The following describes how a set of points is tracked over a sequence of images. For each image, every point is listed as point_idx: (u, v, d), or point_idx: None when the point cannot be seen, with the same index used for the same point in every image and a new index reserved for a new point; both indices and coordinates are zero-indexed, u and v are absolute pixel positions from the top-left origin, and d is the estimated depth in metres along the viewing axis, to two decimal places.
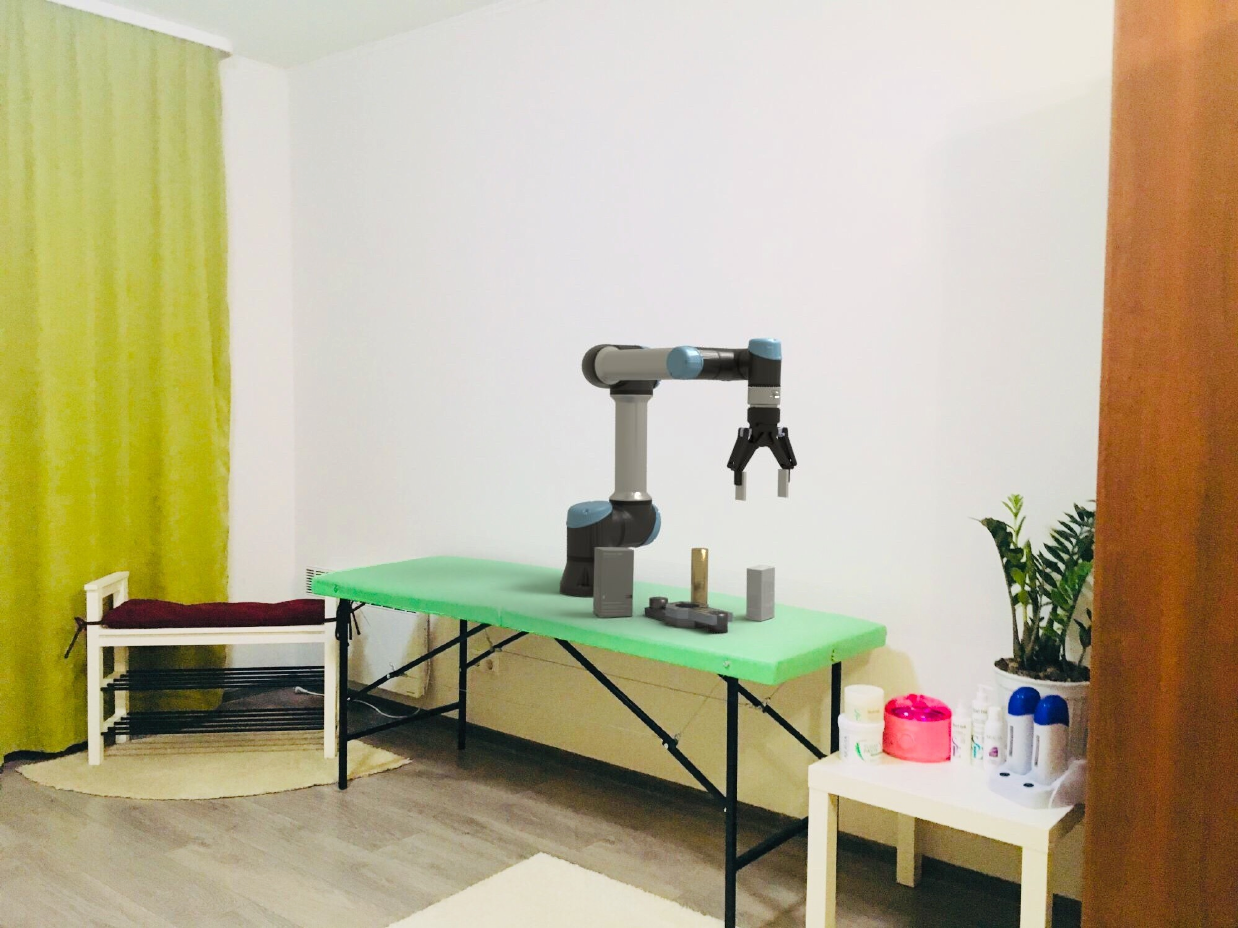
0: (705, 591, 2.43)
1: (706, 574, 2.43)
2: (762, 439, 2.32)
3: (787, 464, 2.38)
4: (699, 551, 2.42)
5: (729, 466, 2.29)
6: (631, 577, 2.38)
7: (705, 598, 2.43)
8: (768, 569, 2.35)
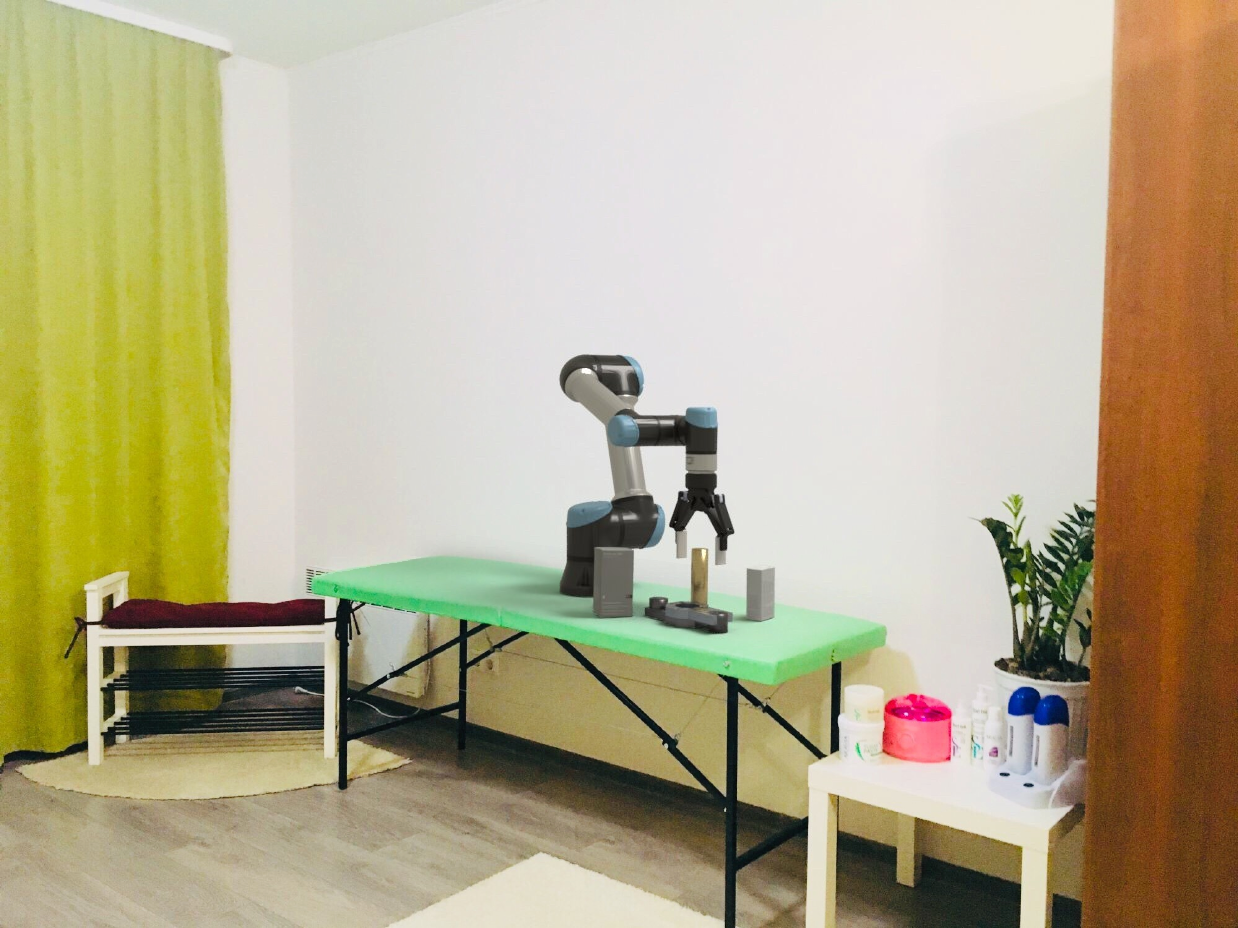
0: (705, 591, 2.43)
1: (706, 574, 2.43)
2: (689, 503, 2.43)
3: (717, 531, 2.37)
4: (699, 551, 2.42)
5: None
6: (631, 577, 2.37)
7: (705, 598, 2.43)
8: (768, 569, 2.35)
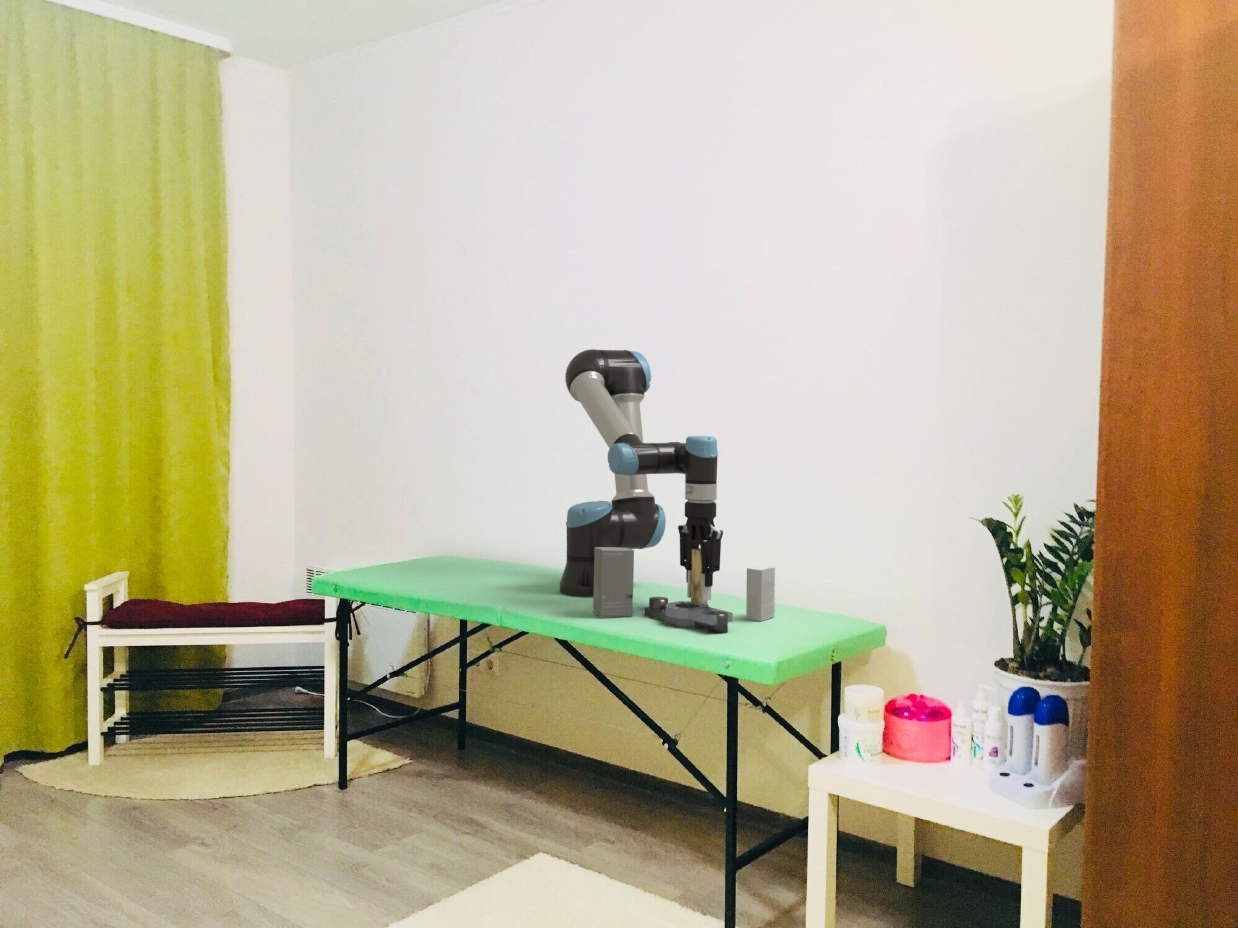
0: None
1: None
2: (690, 533, 2.43)
3: (703, 567, 2.41)
4: (699, 551, 2.42)
5: None
6: (631, 577, 2.37)
7: None
8: (768, 569, 2.35)
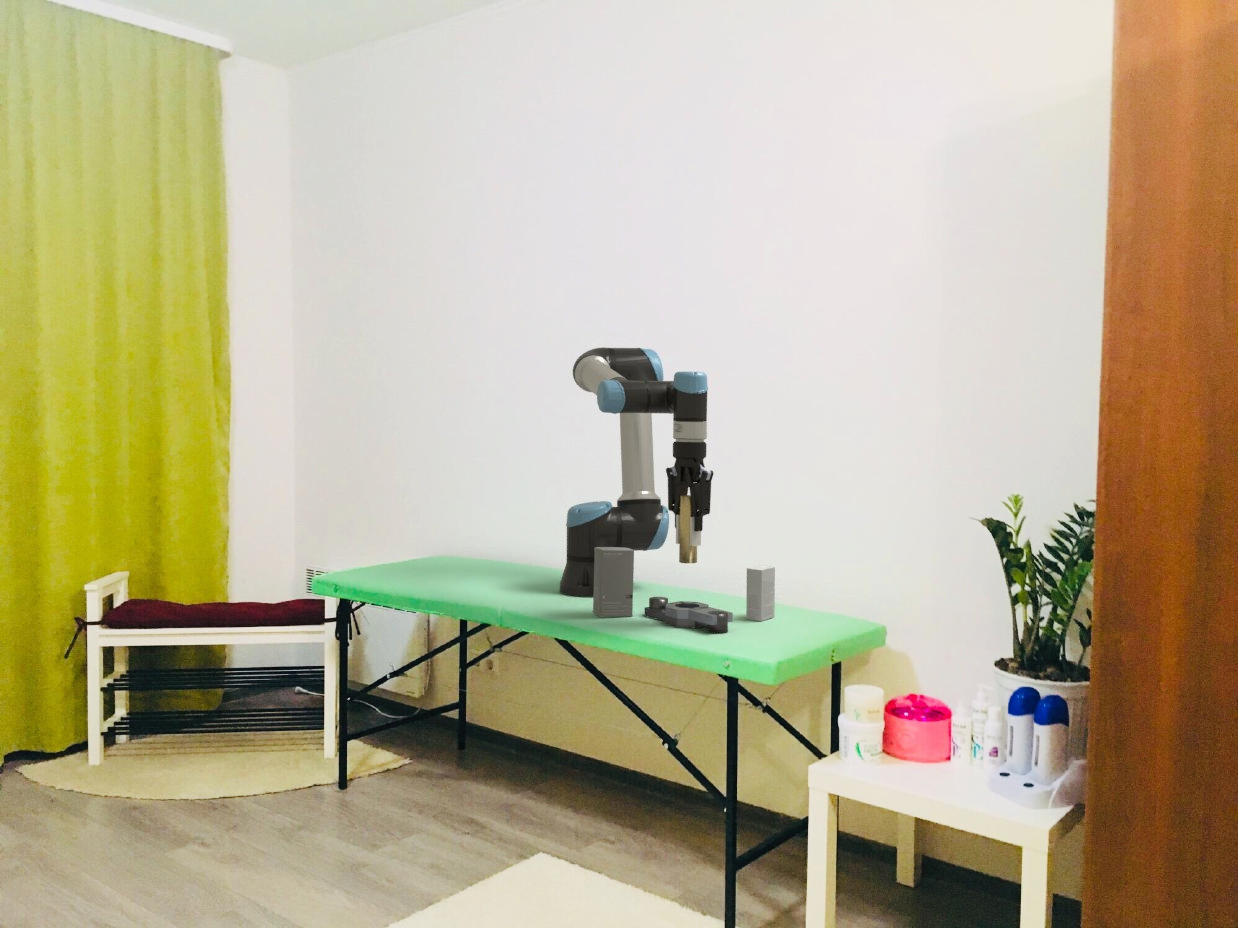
0: None
1: None
2: (679, 474, 2.29)
3: (693, 510, 2.27)
4: (688, 497, 2.28)
5: None
6: (631, 577, 2.38)
7: (694, 548, 2.29)
8: (768, 569, 2.35)
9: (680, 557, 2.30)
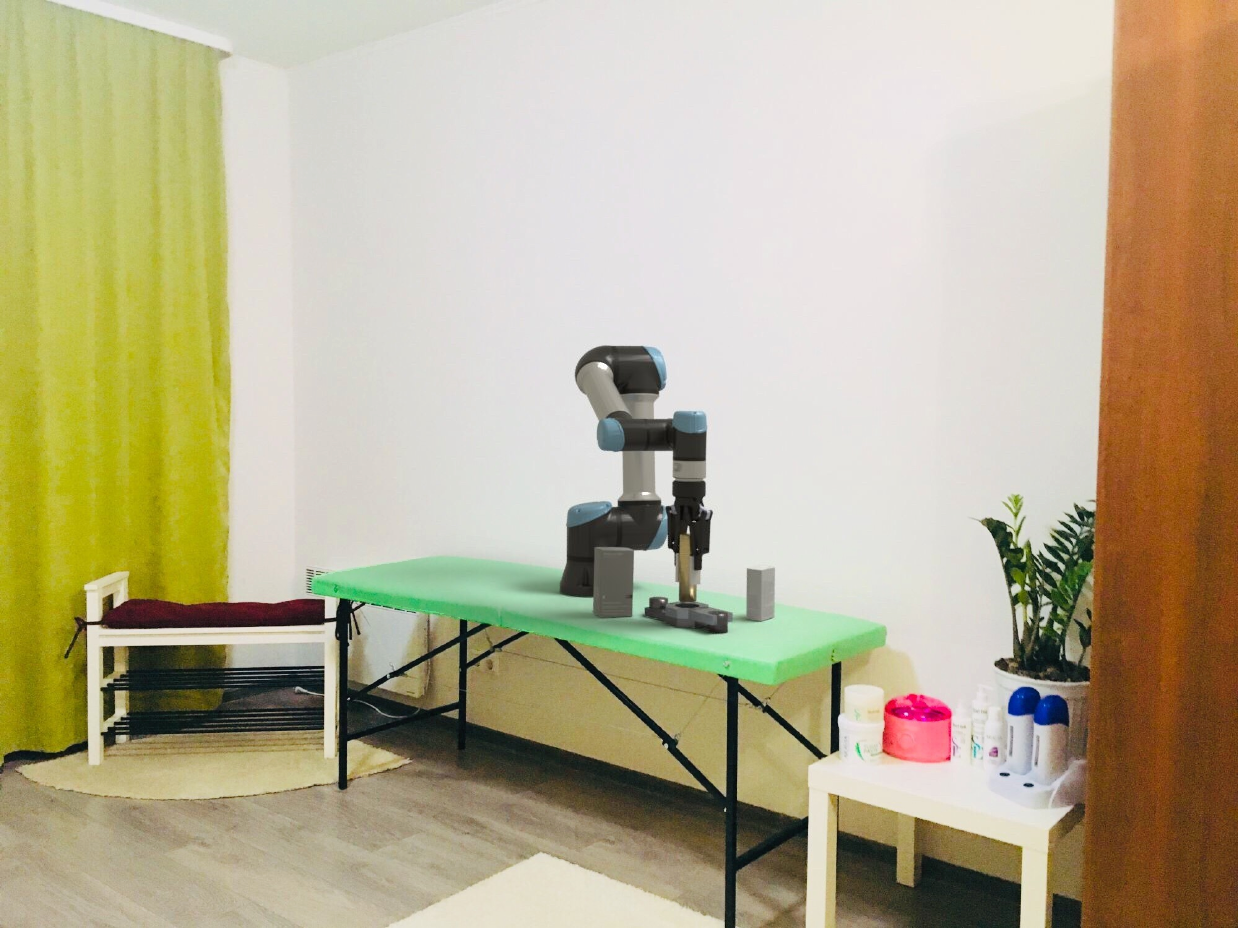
0: None
1: None
2: (678, 513, 2.30)
3: (692, 549, 2.27)
4: (687, 536, 2.28)
5: None
6: (631, 577, 2.37)
7: (694, 586, 2.30)
8: (768, 569, 2.35)
9: (680, 596, 2.30)
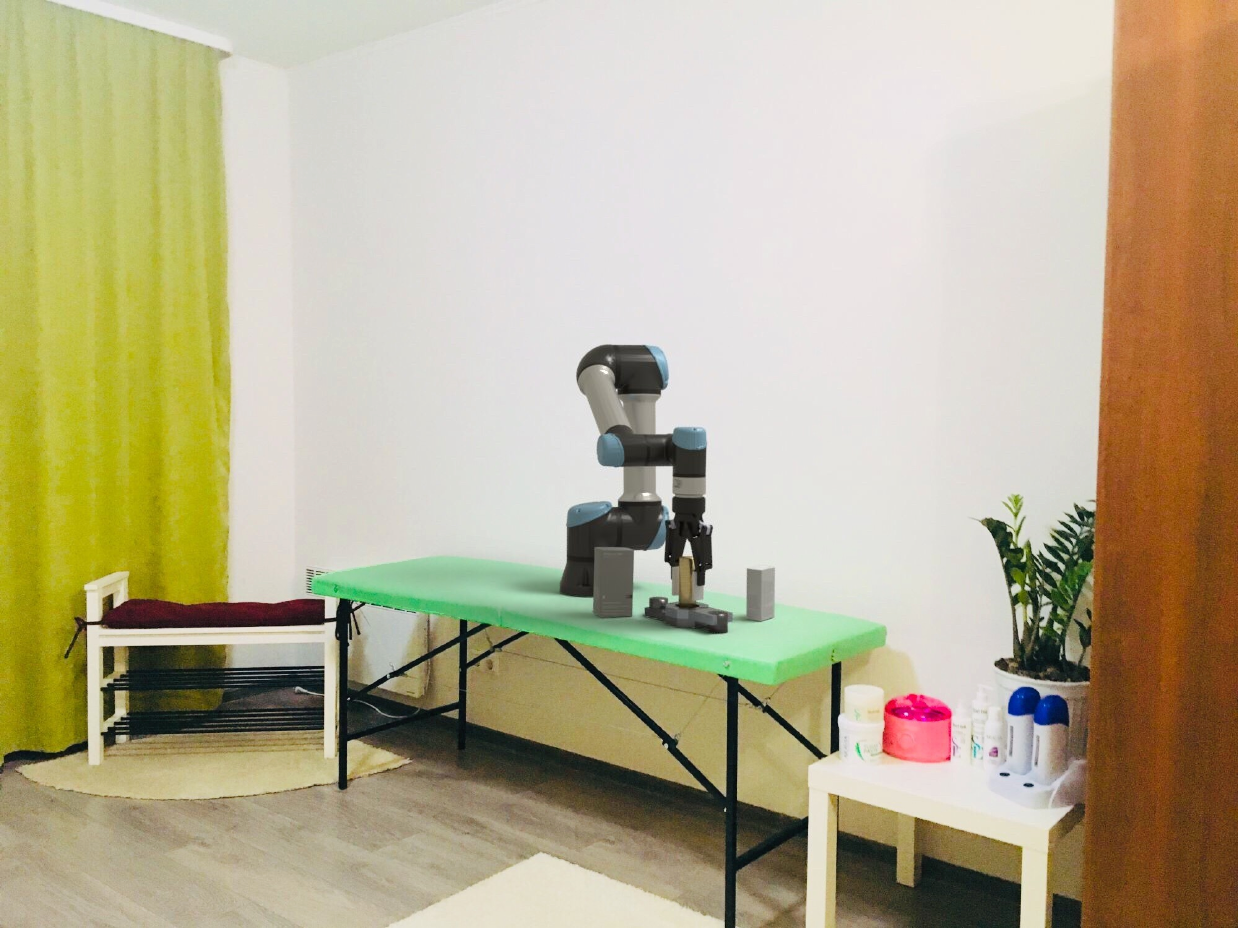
0: (693, 602, 2.30)
1: None
2: (678, 529, 2.30)
3: (695, 564, 2.27)
4: (687, 560, 2.29)
5: None
6: (631, 577, 2.38)
7: None
8: (768, 569, 2.35)
9: None
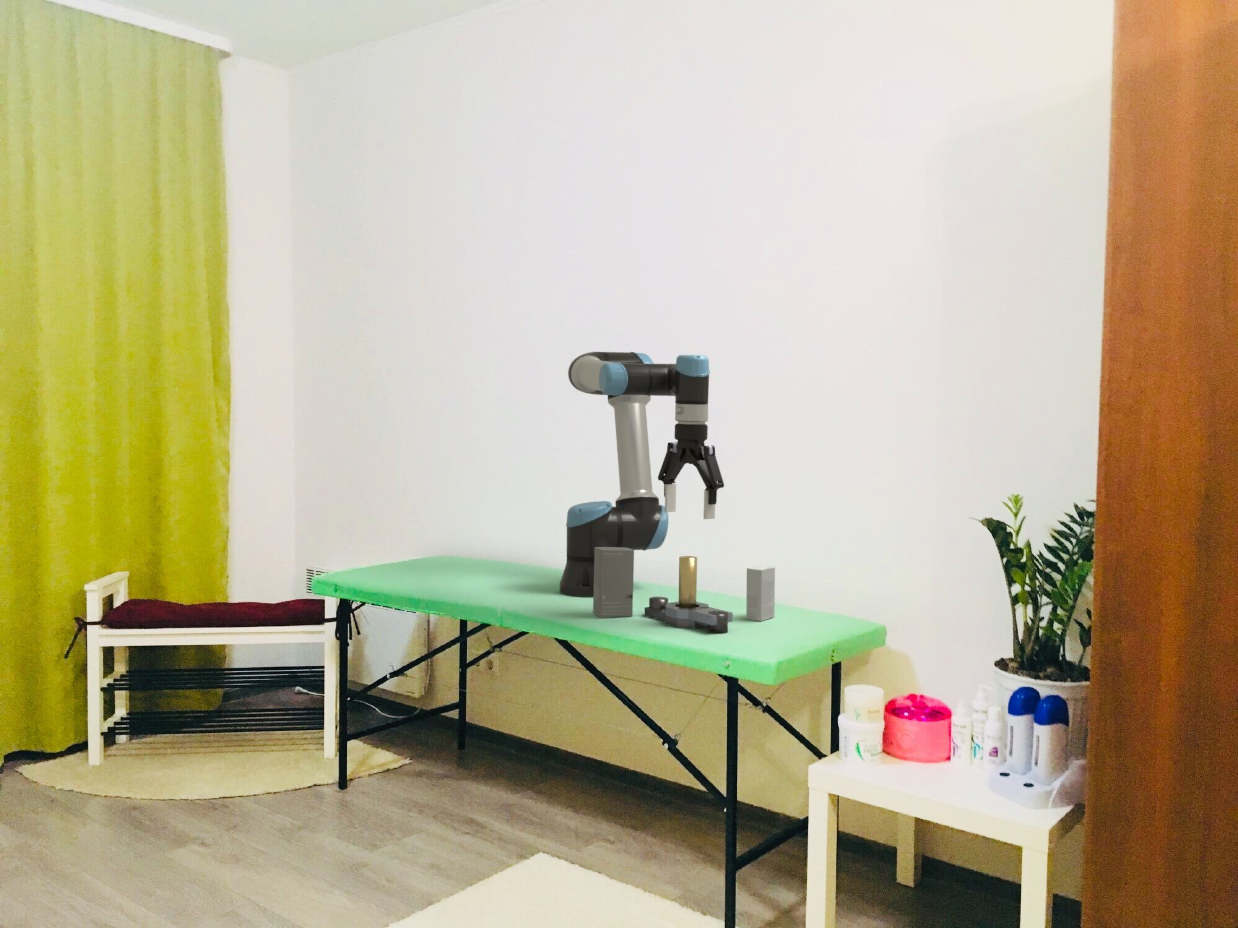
0: (693, 602, 2.30)
1: (695, 584, 2.30)
2: (679, 455, 2.35)
3: (706, 484, 2.28)
4: (687, 560, 2.29)
5: None
6: (631, 577, 2.37)
7: None
8: (768, 569, 2.35)
9: None
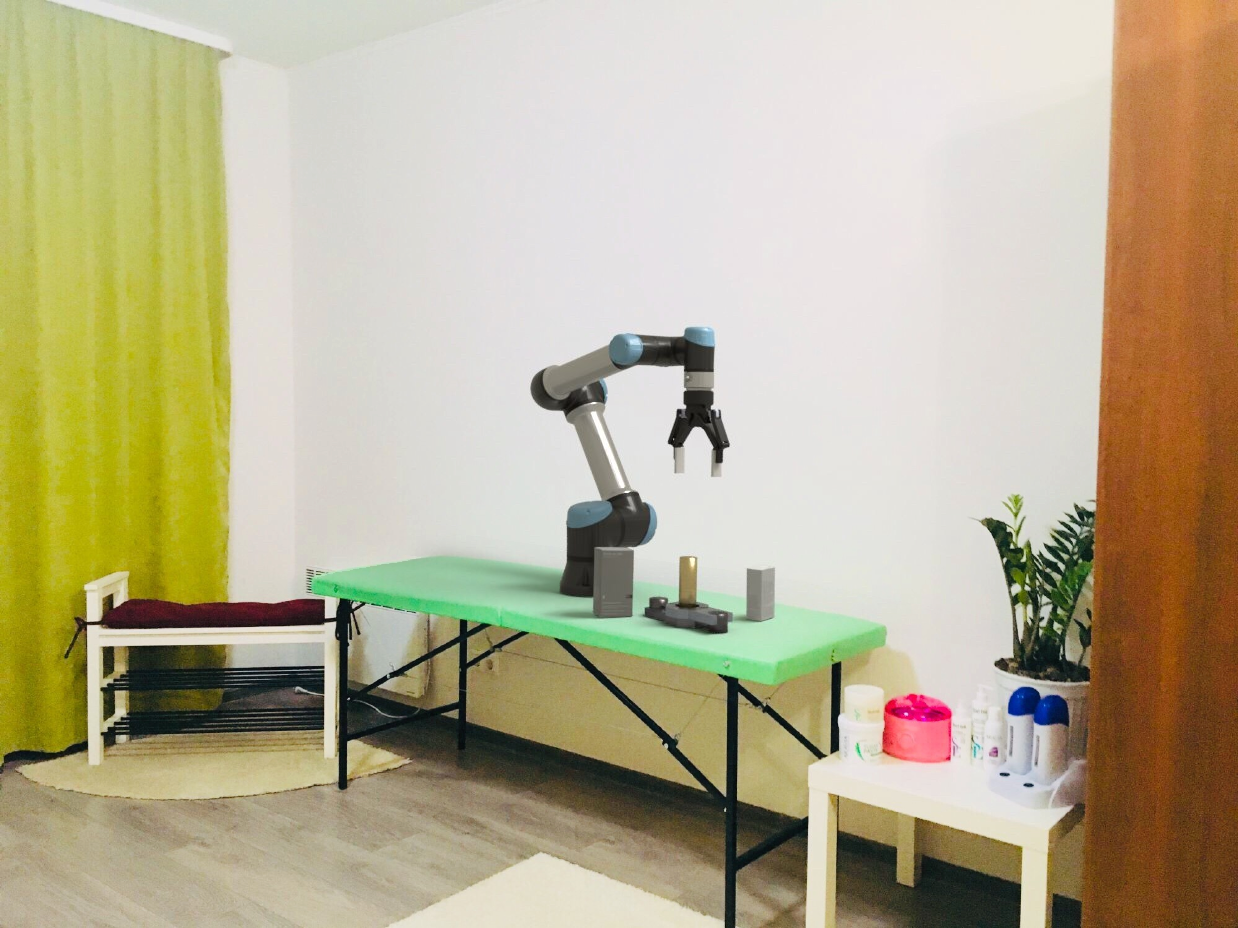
0: (694, 602, 2.30)
1: (695, 584, 2.30)
2: (687, 419, 2.55)
3: (713, 445, 2.49)
4: (687, 560, 2.29)
5: None
6: (631, 577, 2.37)
7: None
8: (768, 569, 2.35)
9: None
